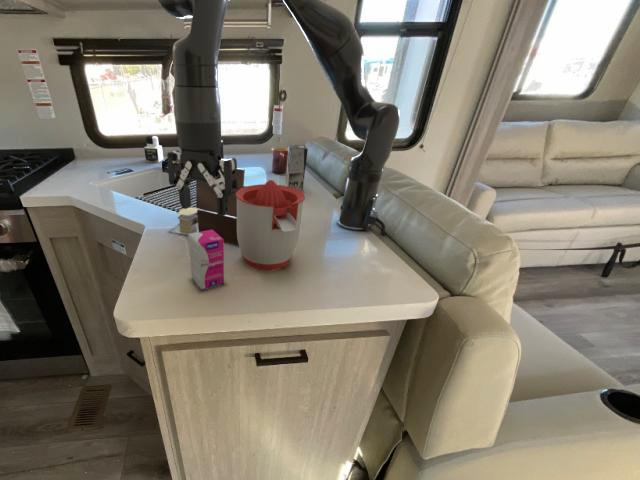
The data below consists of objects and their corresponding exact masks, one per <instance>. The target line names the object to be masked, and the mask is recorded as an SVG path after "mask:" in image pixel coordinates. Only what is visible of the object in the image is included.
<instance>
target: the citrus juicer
mask: <svg viewBox="0 0 640 480" xmlns="http://www.w3.org/2000/svg"><path fill="white" fill-rule="evenodd" d="M236 197H237V239H238V244H239V246H238V248H239V252H240V255H241V258H242V260H243V262H244V264H246V265H247V266H249V267H250V268H252V269H256V270H258V271H277V270H280V269H283V268H285V267H286V266H287V265H288V264H289V263H290V261H291V260H292V258H293V256H294V253H295V251H296V248H297V245H298V241H299V237H300V232H301V231H300V230H301V223H302V215H303V209H304V208H303V207H304V201H305V199H306V196H305V193H304V192H303V191H302V192H301V191H300V190H298V189H295V188H292V187H288V186H285V185H281V184H277V183H276V181H274V180H273V179H269V180H267V181H266V182H265V183H264V184H253V185H247V186H244V188H241V189H239V190H238V191H237V192H236Z"/></svg>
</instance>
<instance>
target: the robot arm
mask: <svg viewBox="0 0 640 480" xmlns="http://www.w3.org/2000/svg"><path fill="white" fill-rule="evenodd" d="M157 1H158V3H159V5H160V6H161V8H162V9H163V11H165V12H166V13H167V14H168V15H170V16H172V17H173V18H176V19H191V21H190V27H189V31H188V33H187V34H186V36H184V37H181V38H180V39H178V40H176V41H175V42H174V43H173V45H172V65H173V66H172V69H173V78H174V85H175V86H174V107H175V109H174V110H175V119H176V120H175V121H176V131H177V141H178V143H177V144H178V147H179V149H180V150H181V151H180V150H178V149H177V150H172V151H169V152H167V153H166V158H167V171H168V174H167V175H168V184H169V185H170V186H175V187H176V189H177V190H178V197H179V204H180V206H181V209H183V208H184V209H187V208H189V207H191V206H192V196H191V188H190V187H189V186H190V184H191V183H192V181H196V180H200V181H202V182H208V184H209V185H210V187H211V188H213V189H214V191H215V192H216V194H217V196H218V197H217V216H219V217H222V216H224V215H225V214H226V213H227V212H228V196H230V195H232V194H234V193H236V192H237V191H238V181H237V168H238V163H237V162H238V161H237V158H235V157H231V158H229V159H227V158H222V156H221V149H222V110H221V109H222V106H221V95H220V86H219V52H220V46H221V41H222V36H223V31H224V30H223V29H224V25H225V19H226V15H227V10H228V3H229V0H157ZM282 1H283V3H284V4H285V6H286V7H287V9H288V10H289V12H290V13H291V15H292V17H293V18H294V19H295V21H296V23H297V25H298V26H299V28H300V30H301V32H302V34H303V35H304V37H305V39H306V41H307V43H308V44H309V47H310V48H311V51H312V52H313V54H314V56H315V58H316V60H317V62H318V64H319V66H320V67H321V70H322V71H323V74H324V75H325V77H326V78H327V80H328V81H329V83H330V86H331V87H332V89H333V91H334V93H335V94H336V97H337V98H338V100H339V101H340V103H341V106H342V108H343V110H344V113H345V115H346V118H347V121H348V123H349V127H350V129H351V130H352V132H353V134H354V135H355V136H356V137H357V138H358V139H359V140H363V141H365V142H364V146H363V149H362V151H361V152H359V153H356V154H354V155H352V157H350V162H349V167H348V172H347V178H346V183H345V187H344V194H343V198H342V204H341V205H340V208H339V209H340V210H339V211H340V214H339V216H338V217H339V218H338V225H339V226H340V227H342V228H343V229H347V230H350V231H365V232H366V231H367V230H368V229H369V228H370V226H374V225H375V224H376V222H377V223H378V224H379V225H380V227H381V229H380V234H381V235H382V236H386V234H387V232H386V231H385V230H386V225H385V222H383V220H381V219H380V218H379V212H377V211H375V208H376V204H377V200H378V196H379V195H378V192H379V187H380V184H381V181H382V176H383V172H384V168H385V165H386V164H387V162H388V159H389V158H390V155H391V153H392V149H393V147H394V143H395V139H396V136H397V133H398V131H399V126H400V121H401V115H400V113H401V112H400V110H399V108H398V106H397V105H395V104H393V103H389V102H380V101H376V100H374V98H373V97H372V95H371V93H370V91H369V89H368V87H367V84H366V82H365V76H364V69H365V53H364V48H363V44H362V41H361V39H360V36H359V34H358V31H357V29H356V27H355V26H354V23H353V20H351V18H350V17H349V16H348V15H347V14H346V13H345V12H343V11H342V10H340V9H338V8H337V7H335V6H333V5H332V4H329V3H328V2H325V1H324V0H282ZM182 166H183V169H182ZM221 167H222V171H223V172H224V177H223V175H222V174H221V172H220V170H219V169H220V168H221ZM214 177H216V179H217V180H215V179H214ZM224 181H225V182H224Z"/></svg>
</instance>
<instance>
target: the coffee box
mask: <svg viewBox="0 0 640 480" xmlns="http://www.w3.org/2000/svg"><path fill="white" fill-rule="evenodd" d="M288 148H289V149H288V160H287V171H286V172H285V173H286V174H285V184H284V186H288V187H292V188H295V189H298V190H300V191H301V192H303V191H304V183H305V176H306V175H305V174H306V168H307V158H308V150H309V148H308V147H307V146H306V145H305V144H288Z"/></svg>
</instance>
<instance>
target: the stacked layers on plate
mask: <svg viewBox="0 0 640 480" xmlns="http://www.w3.org/2000/svg"><path fill="white" fill-rule="evenodd" d="M197 210H198V208H196V206H195V207H191V206H190V207H189V208H187V209H184V208H181V209H180V210H179V211H178V212H177V215H178V216H177V220H178V221H179V223H178V224H177V225H178V226H176V227H175V228H173V229H172V230H171V231H169V233H173V234H178V235H179V234H180V235H184V236H185V235H186V236H189V234H192V233H197V232H199V228H198V213H197Z"/></svg>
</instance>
